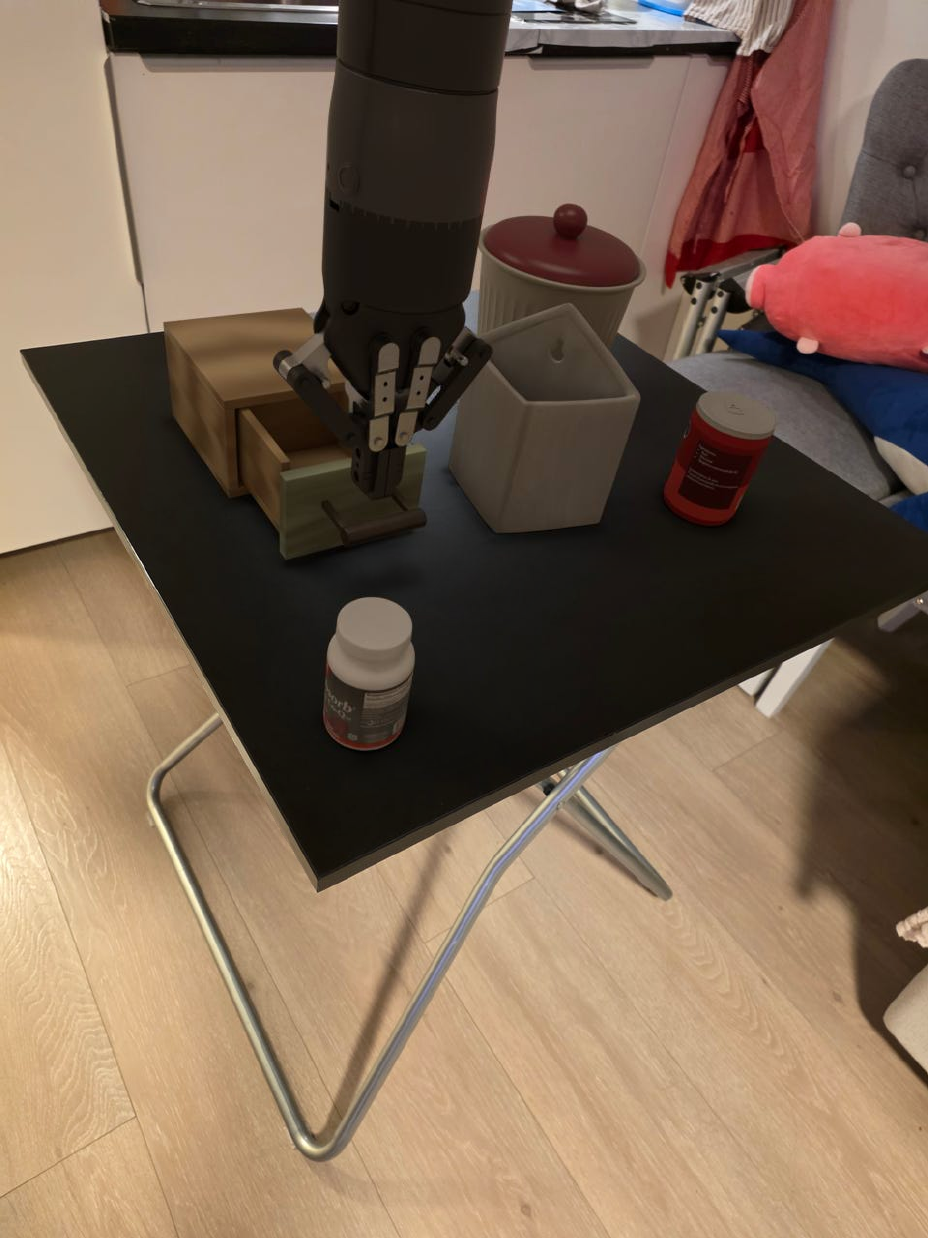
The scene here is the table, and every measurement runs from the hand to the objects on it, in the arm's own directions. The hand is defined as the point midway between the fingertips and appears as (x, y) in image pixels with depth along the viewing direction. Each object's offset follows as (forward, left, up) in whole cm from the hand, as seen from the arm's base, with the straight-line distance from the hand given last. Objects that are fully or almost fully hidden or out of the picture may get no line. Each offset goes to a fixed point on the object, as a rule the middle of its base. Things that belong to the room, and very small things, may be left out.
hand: (374, 491), depth 49 cm
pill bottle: (+3, -4, -16) cm, 17 cm away
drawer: (-10, +15, -15) cm, 23 cm away
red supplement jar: (+21, +37, -16) cm, 46 cm away
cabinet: (-21, +23, -16) cm, 35 cm away
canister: (-1, +49, -16) cm, 52 cm away
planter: (+4, +25, -16) cm, 30 cm away
